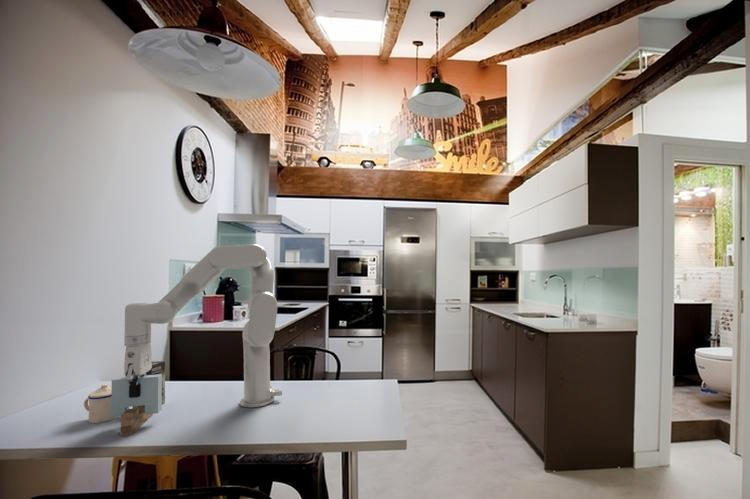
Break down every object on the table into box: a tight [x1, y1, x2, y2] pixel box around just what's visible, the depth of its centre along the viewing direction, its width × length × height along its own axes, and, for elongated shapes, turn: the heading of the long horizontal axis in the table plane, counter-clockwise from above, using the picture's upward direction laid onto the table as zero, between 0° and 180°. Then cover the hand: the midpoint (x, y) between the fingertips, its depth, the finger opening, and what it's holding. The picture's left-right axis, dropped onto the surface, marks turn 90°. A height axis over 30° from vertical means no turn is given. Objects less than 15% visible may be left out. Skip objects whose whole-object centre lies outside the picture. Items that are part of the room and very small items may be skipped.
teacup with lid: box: [83, 383, 117, 424], centre depth 127 cm, size 12×9×12 cm
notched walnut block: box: [120, 405, 154, 437], centre depth 121 cm, size 16×3×6 cm, turn 11°
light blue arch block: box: [111, 374, 163, 418], centre depth 121 cm, size 14×3×12 cm, turn 101°
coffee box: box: [132, 360, 166, 409], centre depth 137 cm, size 9×6×16 cm
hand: (137, 394), depth 121 cm, fingers closed on light blue arch block, 3 cm apart
